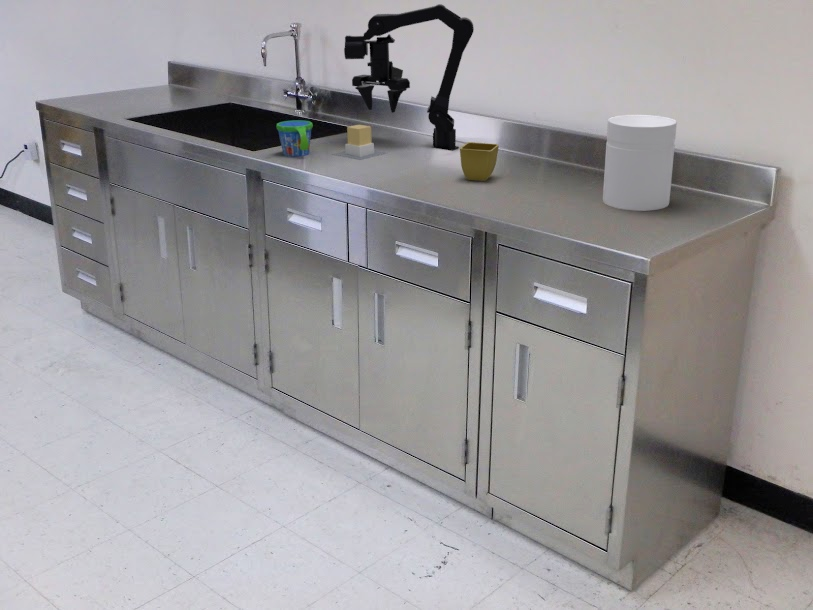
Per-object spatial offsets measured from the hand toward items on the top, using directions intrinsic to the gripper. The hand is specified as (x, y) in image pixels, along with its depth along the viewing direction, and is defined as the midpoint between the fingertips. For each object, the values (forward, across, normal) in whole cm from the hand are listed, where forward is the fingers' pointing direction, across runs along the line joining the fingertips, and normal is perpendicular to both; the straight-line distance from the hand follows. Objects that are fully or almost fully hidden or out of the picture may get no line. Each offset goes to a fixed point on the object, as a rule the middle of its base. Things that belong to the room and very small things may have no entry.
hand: (381, 111), depth 288 cm
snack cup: (+12, +14, +24) cm, 30 cm away
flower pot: (+12, -45, +13) cm, 49 cm away
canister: (+13, -90, +9) cm, 91 cm away
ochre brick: (+8, -2, +12) cm, 14 cm away
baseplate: (+12, -1, +12) cm, 17 cm away
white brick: (+11, -1, +12) cm, 16 cm away
